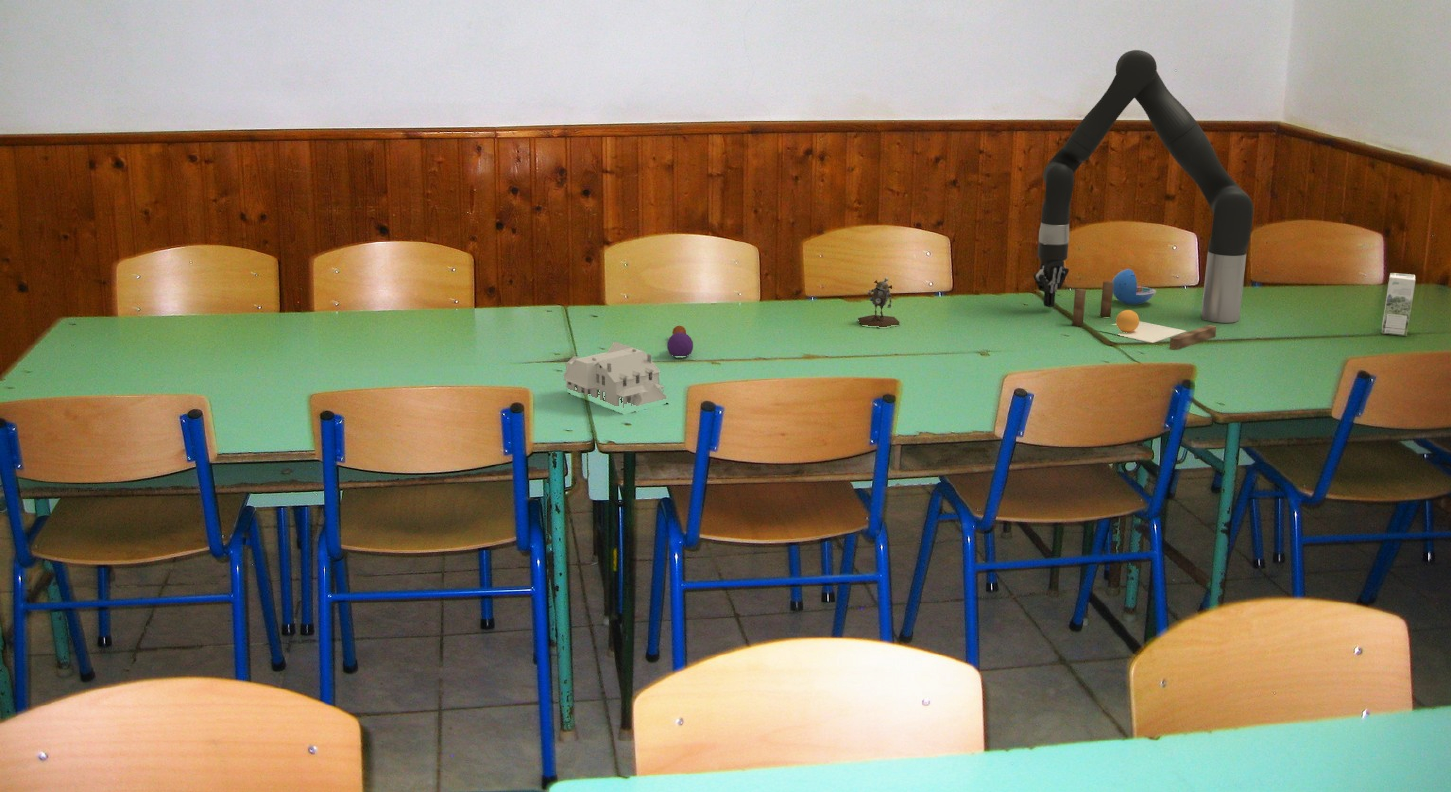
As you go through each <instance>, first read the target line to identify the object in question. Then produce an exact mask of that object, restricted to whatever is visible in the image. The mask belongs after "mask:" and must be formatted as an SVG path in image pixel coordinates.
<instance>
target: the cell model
mask: <svg viewBox="0 0 1451 792" xmlns="http://www.w3.org/2000/svg"><path fill="white" fill-rule="evenodd" d="M1111 282H1113V283H1114V284H1113V295H1114V297H1115V299H1117V301H1118V302H1120V303H1122V304H1125V305H1128V306H1137V305H1142V304H1144V303H1147V302H1148V301H1150V300H1151V299H1152V298H1154V296H1155V295H1156V293H1157V290H1156V289H1154V288H1150V287H1146V286H1145V287H1144V286H1141V285H1138V282H1137V277H1136V274H1135V272H1134V271H1133V270H1132V269H1130V268H1126V269H1123V270H1121V271H1119V272H1118V273H1117V274H1116V275H1115V276H1114V277H1113V279H1112V281H1111Z"/></svg>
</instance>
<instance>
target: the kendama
mask: <svg viewBox="0 0 1451 792" xmlns="http://www.w3.org/2000/svg"><path fill="white" fill-rule="evenodd" d="M666 344H667V346H666V347H667V350H668V352H669V354H670V356H672V355H673V356H687V355H689V354H690V355H692V352H693V350H694V343H693V340H692V337H691V336H690V335H689V334H687V330H686V328H685V327H684V326H682V325H676V326H674V328H673V329H672V335H671V336H670V337H669V338H668V340H667V343H666ZM690 355H689V356H690ZM673 356H672V357H673Z"/></svg>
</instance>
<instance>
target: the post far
mask: <svg viewBox="0 0 1451 792" xmlns="http://www.w3.org/2000/svg"><path fill="white" fill-rule="evenodd" d="M1113 284H1114V283H1113V282H1112V281H1103V282H1102V290H1101V302H1100V314H1099V317H1100V316H1101V317H1100V318H1102V317H1110V318H1111V317H1112V306H1113V305H1112V304H1113V295H1114V294H1113Z"/></svg>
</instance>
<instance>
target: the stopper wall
mask: <svg viewBox="0 0 1451 792" xmlns="http://www.w3.org/2000/svg"><path fill="white" fill-rule="evenodd" d="M1216 334H1217V326H1215V325H1210V324H1208V325H1205V326H1202V327H1198V328H1196V329H1192V330H1190V331H1187V332H1185V333H1182V334H1179V335H1176V336H1173V337H1170V340H1169V349H1171V350H1180V349H1183V348H1186V347H1189V346H1191V345H1194V344H1198V343H1201V342H1203V341H1206V340H1209V339H1212V338H1215V337H1216Z"/></svg>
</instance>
